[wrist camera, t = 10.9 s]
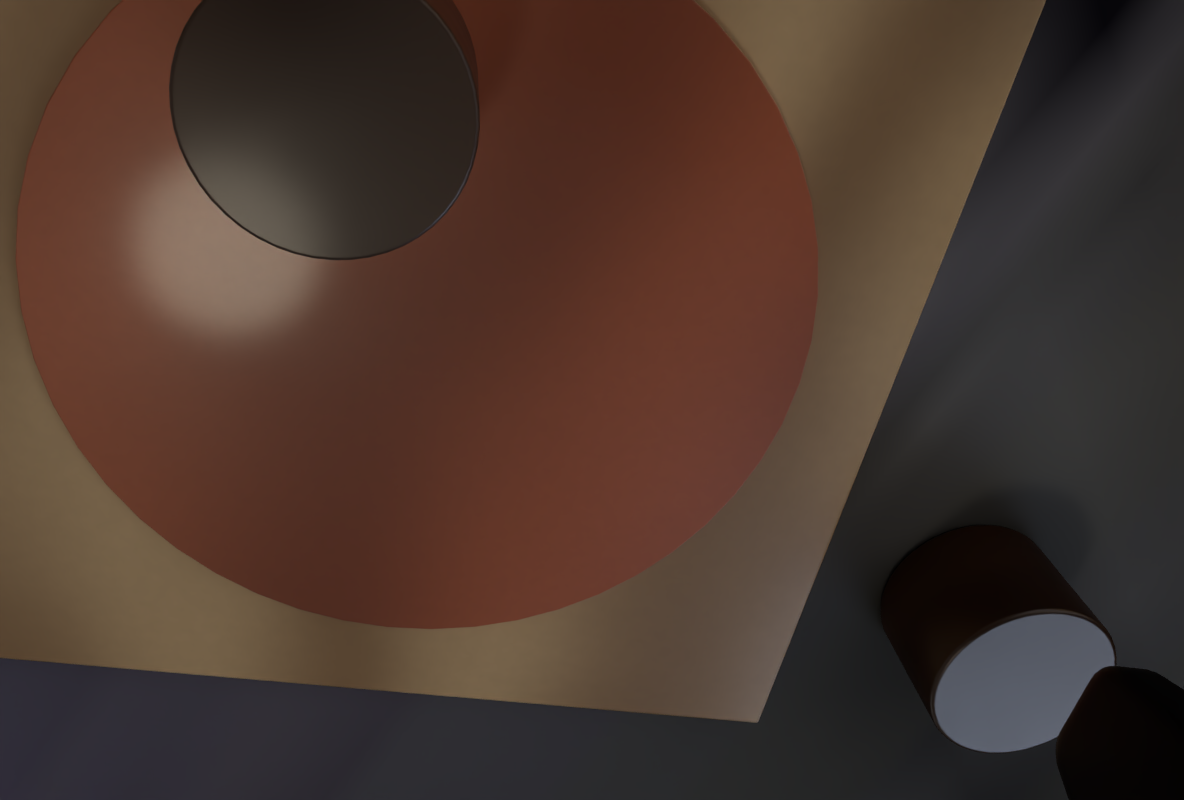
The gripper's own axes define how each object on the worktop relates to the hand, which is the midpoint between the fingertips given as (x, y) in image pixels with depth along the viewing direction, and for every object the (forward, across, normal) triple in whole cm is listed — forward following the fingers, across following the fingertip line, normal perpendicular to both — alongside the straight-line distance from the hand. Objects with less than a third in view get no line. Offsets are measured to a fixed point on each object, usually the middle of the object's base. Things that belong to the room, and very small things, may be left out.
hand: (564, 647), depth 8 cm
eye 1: (+12, -12, +7) cm, 18 cm away
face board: (+12, +1, +2) cm, 12 cm away
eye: (+11, +3, -2) cm, 11 cm away
